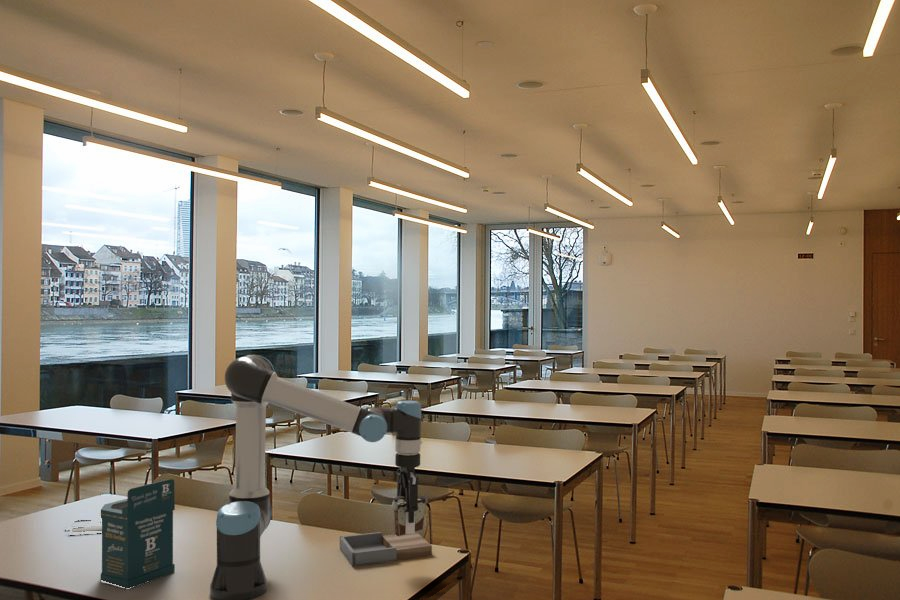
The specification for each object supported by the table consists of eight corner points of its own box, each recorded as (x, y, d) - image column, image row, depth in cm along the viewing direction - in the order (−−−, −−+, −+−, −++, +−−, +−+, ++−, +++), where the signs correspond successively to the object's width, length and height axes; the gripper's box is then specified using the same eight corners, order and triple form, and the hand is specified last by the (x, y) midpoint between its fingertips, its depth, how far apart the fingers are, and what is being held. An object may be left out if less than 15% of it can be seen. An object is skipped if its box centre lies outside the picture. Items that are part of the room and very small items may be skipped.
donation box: (127, 590, 204) (127, 489, 205) (91, 580, 212) (91, 483, 213) (174, 572, 219) (174, 478, 219) (138, 563, 226) (139, 472, 227)
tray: (396, 560, 227) (396, 547, 227) (352, 566, 222) (352, 553, 222) (381, 543, 244) (381, 531, 244) (339, 548, 239) (339, 536, 239)
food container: (413, 523, 227) (414, 491, 227) (426, 529, 222) (427, 496, 222) (382, 532, 218) (383, 498, 218) (395, 537, 214) (396, 503, 214)
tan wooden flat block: (431, 555, 233) (431, 545, 233) (395, 559, 228) (395, 550, 228) (416, 540, 247) (416, 531, 248) (381, 544, 243) (381, 535, 243)
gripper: (430, 458, 212) (428, 538, 212) (410, 446, 230) (408, 520, 230) (405, 459, 210) (403, 540, 209) (387, 447, 228) (385, 522, 227)
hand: (406, 529), depth 219 cm, fingers closed on food container, 6 cm apart
